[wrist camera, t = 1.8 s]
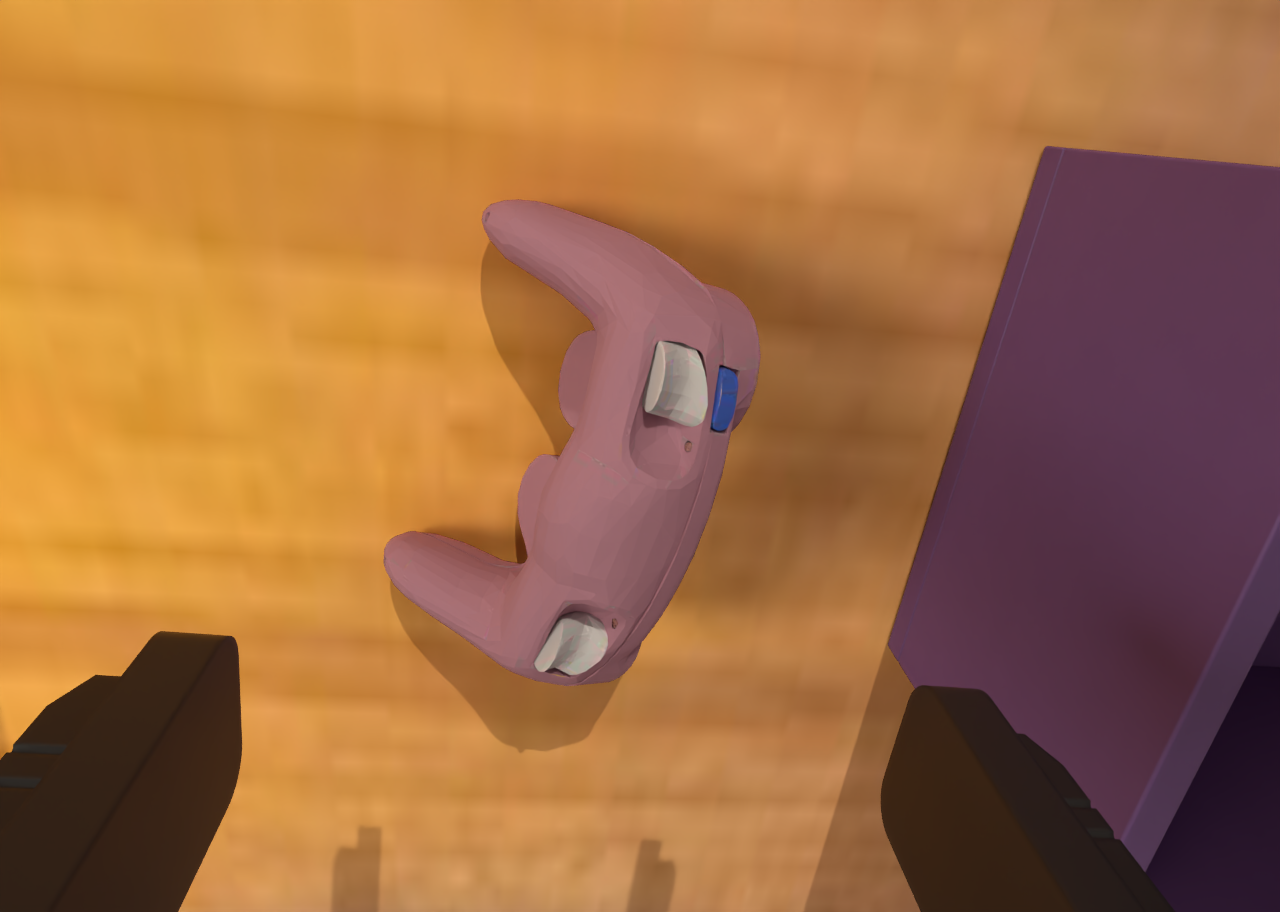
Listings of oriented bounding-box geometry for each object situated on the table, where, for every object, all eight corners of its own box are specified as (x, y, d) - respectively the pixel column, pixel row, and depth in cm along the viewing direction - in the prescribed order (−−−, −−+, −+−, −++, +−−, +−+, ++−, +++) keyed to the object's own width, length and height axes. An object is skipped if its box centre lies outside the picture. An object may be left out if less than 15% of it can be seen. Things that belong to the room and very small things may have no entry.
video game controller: (525, 563, 24) (654, 742, 19) (364, 562, 21) (465, 774, 16) (648, 222, 20) (846, 328, 15) (477, 167, 17) (650, 274, 12)
